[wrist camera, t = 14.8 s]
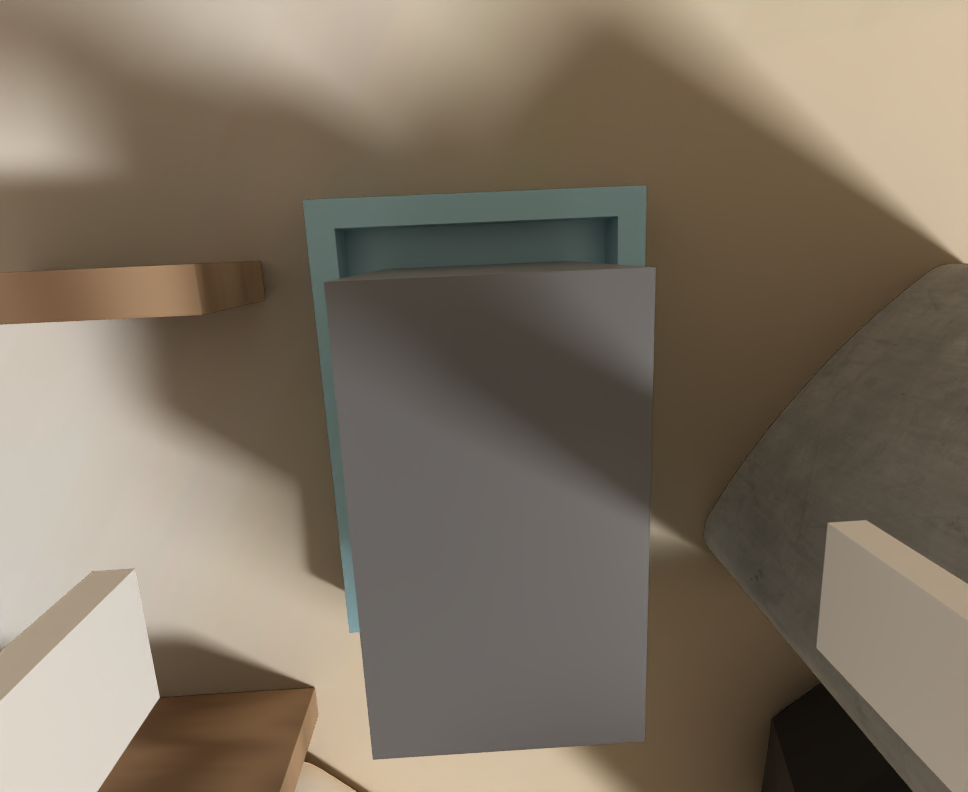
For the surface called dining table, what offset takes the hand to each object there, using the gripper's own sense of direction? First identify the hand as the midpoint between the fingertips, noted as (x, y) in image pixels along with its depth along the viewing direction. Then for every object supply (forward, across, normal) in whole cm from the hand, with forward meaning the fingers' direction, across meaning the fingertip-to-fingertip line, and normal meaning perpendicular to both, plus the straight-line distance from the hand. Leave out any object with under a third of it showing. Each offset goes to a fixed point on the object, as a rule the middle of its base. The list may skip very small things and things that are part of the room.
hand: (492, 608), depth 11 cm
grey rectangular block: (+14, -1, 0) cm, 14 cm away
